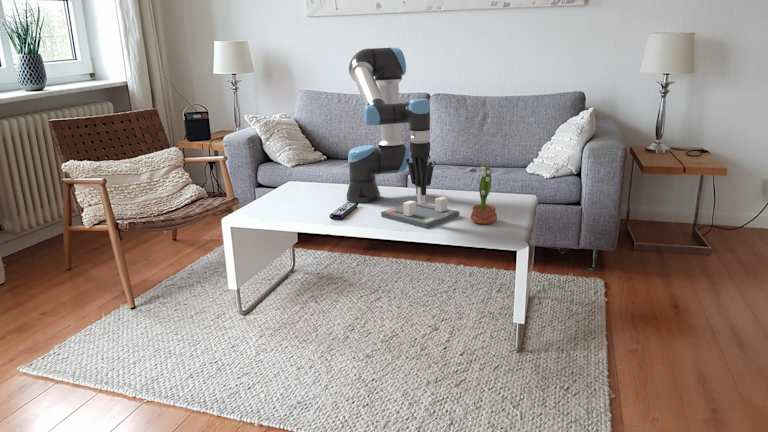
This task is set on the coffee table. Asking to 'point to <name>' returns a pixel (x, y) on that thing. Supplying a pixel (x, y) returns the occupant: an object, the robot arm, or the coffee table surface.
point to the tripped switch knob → (409, 208)
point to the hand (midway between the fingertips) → (421, 203)
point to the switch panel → (421, 215)
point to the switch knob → (441, 204)
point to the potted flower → (484, 199)
